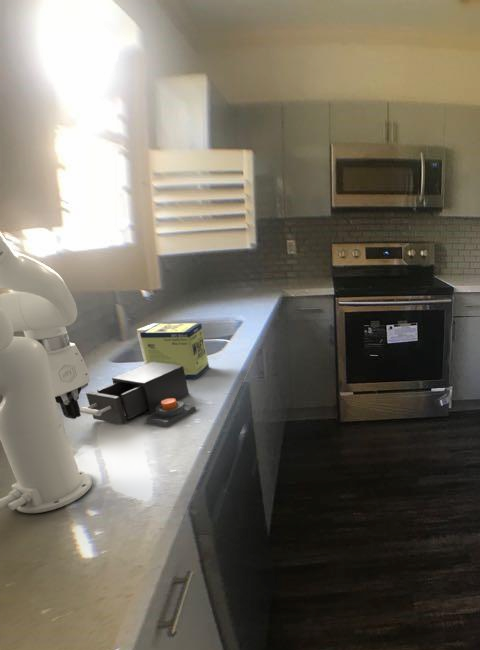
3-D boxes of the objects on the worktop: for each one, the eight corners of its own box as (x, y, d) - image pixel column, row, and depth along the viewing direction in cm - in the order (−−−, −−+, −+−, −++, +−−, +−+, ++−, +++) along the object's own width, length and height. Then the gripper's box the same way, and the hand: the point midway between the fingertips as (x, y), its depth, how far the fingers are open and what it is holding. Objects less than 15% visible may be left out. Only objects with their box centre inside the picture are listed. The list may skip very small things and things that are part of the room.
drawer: (108, 432, 111) (100, 405, 108) (78, 426, 114) (69, 399, 112) (162, 404, 125) (156, 380, 122) (133, 399, 129) (127, 375, 126)
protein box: (198, 378, 145) (188, 331, 139) (149, 379, 145) (138, 332, 139) (210, 367, 155) (202, 322, 149) (164, 368, 155) (155, 323, 149)
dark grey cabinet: (151, 414, 122) (144, 383, 118) (119, 408, 126) (111, 378, 122) (189, 395, 133) (183, 365, 130) (159, 390, 137) (152, 361, 134)
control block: (167, 427, 115) (164, 415, 113) (146, 423, 117) (143, 411, 116) (196, 410, 123) (193, 400, 122) (176, 407, 126) (173, 396, 124)
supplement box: (156, 366, 156) (148, 329, 151) (144, 366, 157) (135, 329, 152) (171, 358, 164) (164, 323, 159) (159, 358, 165) (152, 322, 160)
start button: (169, 410, 117) (168, 404, 116) (159, 408, 118) (157, 402, 117) (180, 405, 120) (179, 399, 119) (169, 403, 121) (168, 397, 120)
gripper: (25, 355, 93) (53, 434, 100) (92, 334, 106) (112, 405, 113) (1, 351, 95) (30, 428, 103) (69, 331, 108) (90, 401, 116)
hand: (73, 416), depth 108 cm, fingers closed
